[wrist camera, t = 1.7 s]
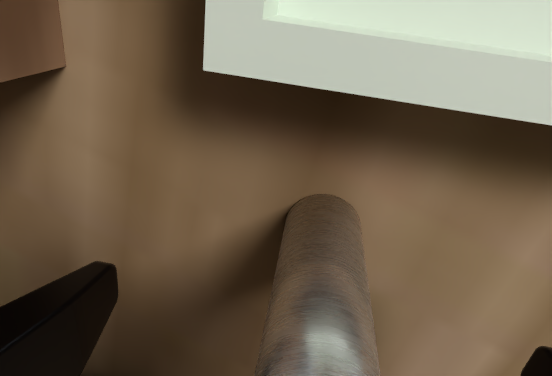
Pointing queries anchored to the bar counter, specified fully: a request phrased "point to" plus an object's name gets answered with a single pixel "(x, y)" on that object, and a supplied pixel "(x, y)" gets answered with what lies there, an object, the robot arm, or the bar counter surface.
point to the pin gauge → (320, 296)
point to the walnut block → (30, 38)
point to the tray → (394, 50)
